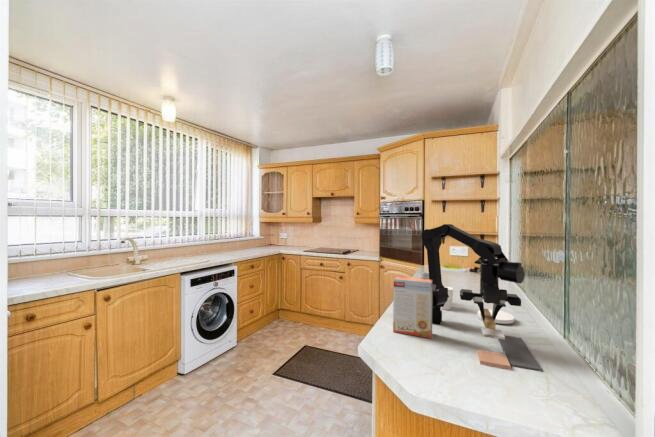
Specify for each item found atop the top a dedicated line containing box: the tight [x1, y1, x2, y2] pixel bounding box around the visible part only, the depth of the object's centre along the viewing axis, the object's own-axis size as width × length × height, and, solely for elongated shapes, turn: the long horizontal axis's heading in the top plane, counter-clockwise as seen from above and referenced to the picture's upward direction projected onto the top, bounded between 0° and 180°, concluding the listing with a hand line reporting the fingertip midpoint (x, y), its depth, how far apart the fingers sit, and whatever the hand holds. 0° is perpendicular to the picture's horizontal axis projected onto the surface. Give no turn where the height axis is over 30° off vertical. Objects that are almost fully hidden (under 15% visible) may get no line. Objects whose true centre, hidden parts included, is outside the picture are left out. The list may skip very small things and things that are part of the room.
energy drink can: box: [418, 271, 429, 279], centre depth 153 cm, size 6×6×15 cm
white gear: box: [477, 308, 516, 325], centre depth 127 cm, size 14×14×2 cm
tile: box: [476, 349, 512, 371], centre depth 90 cm, size 8×2×8 cm
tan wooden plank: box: [480, 308, 506, 340], centre depth 103 cm, size 6×22×3 cm, turn 159°
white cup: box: [441, 285, 454, 311], centre depth 142 cm, size 8×8×10 cm
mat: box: [497, 334, 543, 372], centre depth 97 cm, size 8×24×1 cm, turn 159°
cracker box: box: [392, 276, 433, 339], centre depth 111 cm, size 14×6×21 cm, turn 65°
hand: (488, 320), depth 103 cm, fingers closed on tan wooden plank, 3 cm apart
